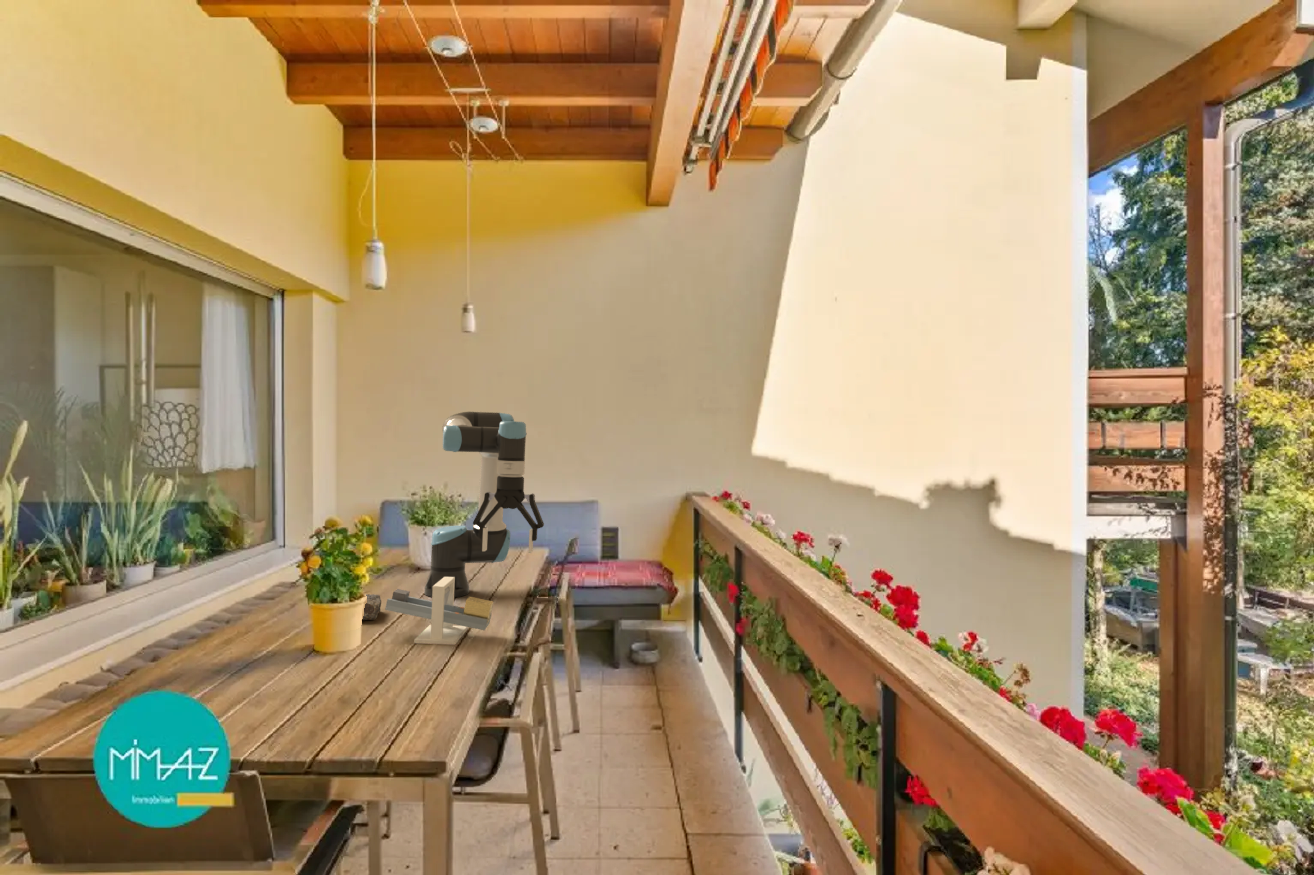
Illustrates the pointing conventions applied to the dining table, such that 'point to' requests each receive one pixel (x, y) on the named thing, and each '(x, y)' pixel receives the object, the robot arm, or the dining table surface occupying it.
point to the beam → (424, 609)
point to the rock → (372, 607)
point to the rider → (478, 608)
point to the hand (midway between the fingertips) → (507, 551)
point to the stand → (441, 617)
